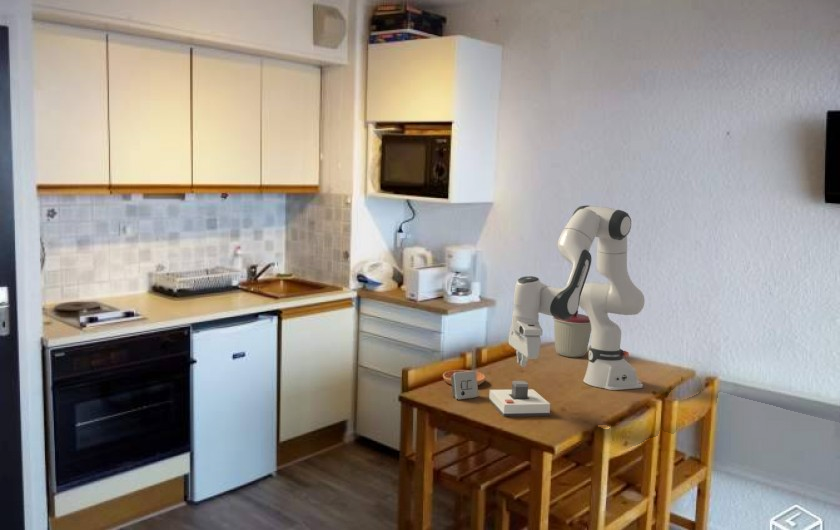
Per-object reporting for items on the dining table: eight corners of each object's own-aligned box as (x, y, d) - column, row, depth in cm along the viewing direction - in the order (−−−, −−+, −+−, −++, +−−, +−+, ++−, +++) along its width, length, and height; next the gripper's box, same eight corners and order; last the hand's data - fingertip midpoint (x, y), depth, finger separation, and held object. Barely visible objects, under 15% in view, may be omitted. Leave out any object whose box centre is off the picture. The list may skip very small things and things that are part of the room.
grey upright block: (522, 403, 251) (524, 380, 250) (526, 406, 247) (528, 384, 246) (510, 403, 250) (512, 380, 249) (514, 407, 246) (516, 384, 245)
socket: (532, 400, 258) (533, 387, 257) (549, 415, 242) (550, 402, 242) (488, 400, 255) (489, 388, 254) (503, 416, 239) (504, 403, 238)
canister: (567, 347, 339) (571, 303, 336) (599, 357, 325) (603, 310, 322) (541, 352, 328) (545, 306, 325) (573, 362, 314) (577, 314, 311)
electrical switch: (456, 400, 253) (457, 374, 253) (448, 397, 257) (448, 371, 257) (478, 397, 258) (479, 371, 257) (470, 394, 262) (470, 369, 262)
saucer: (435, 383, 272) (435, 376, 272) (453, 374, 286) (454, 367, 286) (474, 392, 265) (475, 384, 264) (491, 381, 278) (492, 374, 278)
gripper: (505, 318, 254) (502, 356, 256) (526, 331, 234) (523, 373, 236) (522, 318, 255) (520, 356, 257) (544, 331, 236) (541, 373, 237)
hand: (521, 365), depth 246 cm, fingers closed
